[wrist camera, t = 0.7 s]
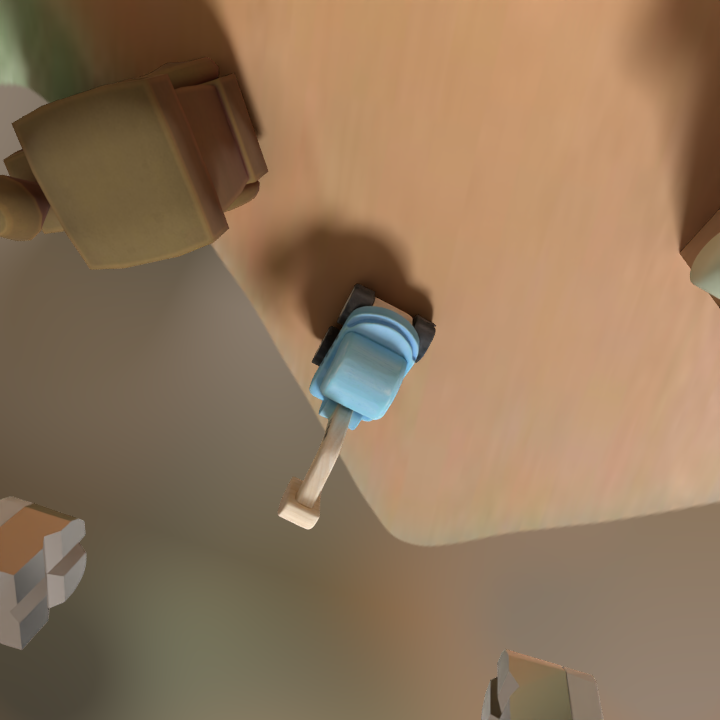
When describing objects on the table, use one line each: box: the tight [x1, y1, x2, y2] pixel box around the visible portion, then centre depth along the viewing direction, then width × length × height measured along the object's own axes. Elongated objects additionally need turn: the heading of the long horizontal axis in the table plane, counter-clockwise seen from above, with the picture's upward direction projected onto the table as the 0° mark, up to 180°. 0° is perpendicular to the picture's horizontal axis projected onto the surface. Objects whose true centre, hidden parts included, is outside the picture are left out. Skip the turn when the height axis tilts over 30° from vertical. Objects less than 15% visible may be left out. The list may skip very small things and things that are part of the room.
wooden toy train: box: [0, 57, 268, 270], centre depth 43 cm, size 20×11×17 cm, turn 106°
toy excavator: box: [278, 284, 436, 529], centre depth 51 cm, size 9×17×17 cm, turn 153°
